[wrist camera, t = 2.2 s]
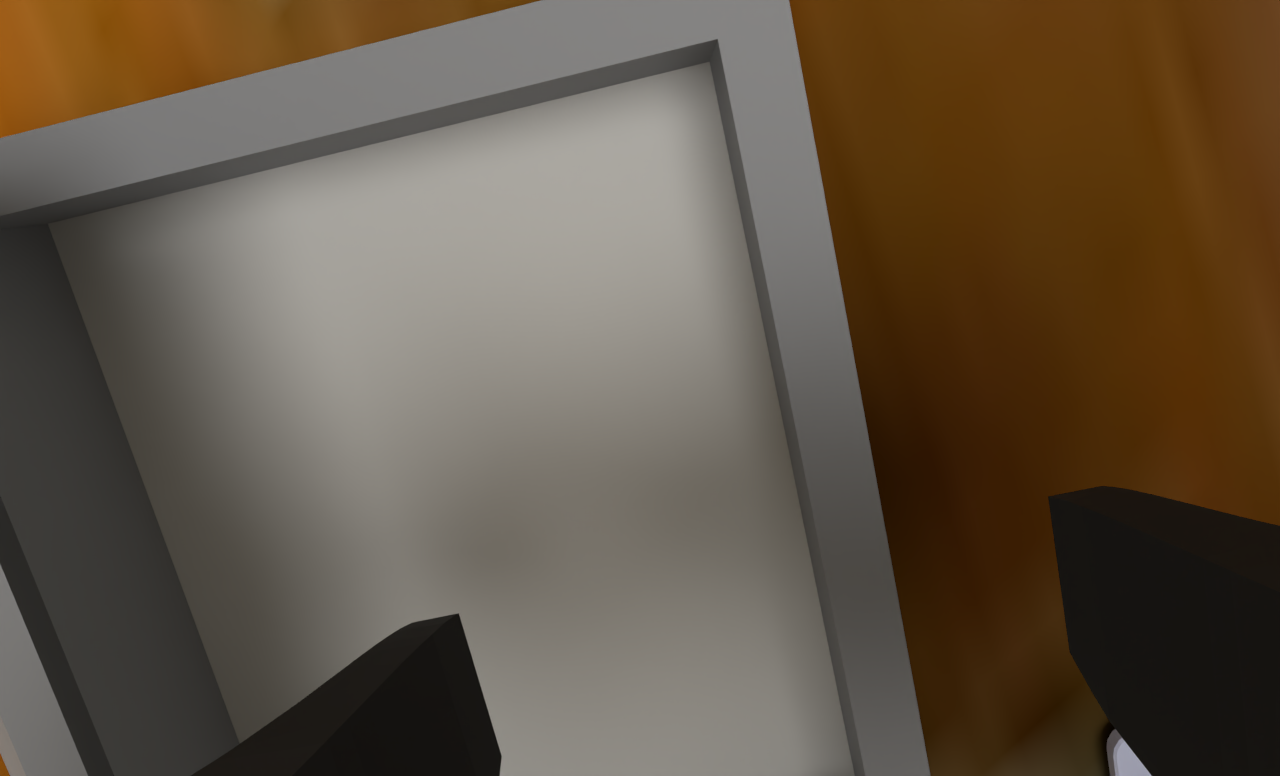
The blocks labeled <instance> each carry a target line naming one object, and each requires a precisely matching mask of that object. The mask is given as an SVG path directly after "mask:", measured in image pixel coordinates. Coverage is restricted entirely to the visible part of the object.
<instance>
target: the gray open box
mask: <svg viewBox="0 0 1280 776" xmlns="http://www.w3.org/2000/svg"><path fill="white" fill-rule="evenodd" d="M0 565H1V567H2V569H3V572H4V574H5V577H6V579H7V582H8V584H9V586H10V589H11V591H12V594H13V596H14V598H15V601H16V603H17V606H18V608H19V610H20V613H21V615H22V618H23V620H24V623H25V625H26V627H27V630H28V632H29V635H30V637H31V639H32V642H33V644H34V647H35V649H36V652H37V654H38V656H39V659H40V661H41V664H42V666H43V668H44V671H45V673H46V676H47V678H48V681H49V683H50V685H51V688H52V690H53V693H54V695H55V697H56V700H57V702H58V705H59V707H60V709H61V712H62V714H63V717H64V719H65V722H66V724H67V726H68V729H69V731H70V734H71V736H72V738H73V741H74V743H75V746H76V748H77V751H78V753H79V755H80V758H81V760H82V763H83V765H84V767H85V770H86V772H87V775H88V776H191V775H192V774H194V773H195V772H197V771H199V770H200V769H202V768H203V767H205V766H207V765H208V764H210V763H211V762H213V761H215V760H216V759H218V758H219V757H221V756H222V755H224V754H225V753H227V752H228V751H230V750H231V749H233V748H234V747H236V746H237V745H239V744H240V743H241V742H243V741H244V740H246V739H247V738H249V737H250V736H251V735H253V734H254V733H256V732H257V731H259V730H260V729H261V728H263V727H264V726H266V725H267V724H269V723H270V722H271V721H273V720H274V719H276V718H277V717H278V716H280V715H281V714H283V713H284V712H286V711H287V710H288V709H290V708H291V707H293V706H294V705H296V704H297V703H298V702H300V701H301V700H302V699H304V698H305V697H306V696H308V695H309V694H310V693H312V692H313V691H314V690H316V689H317V688H318V687H320V686H321V685H322V684H324V683H325V682H326V681H328V680H329V679H330V678H332V677H333V676H334V675H336V674H337V673H338V672H340V671H341V670H342V669H344V668H345V667H346V666H348V665H349V664H350V663H352V662H353V661H354V660H356V659H357V658H358V657H360V656H361V655H362V654H364V653H365V652H366V651H368V650H369V649H370V648H372V647H373V646H375V645H376V644H377V643H379V642H380V641H382V640H383V639H385V638H386V637H388V636H389V635H391V634H392V633H394V632H395V631H397V630H399V629H400V628H402V627H404V626H406V625H408V624H410V623H412V622H417V621H422V620H428V619H433V618H438V617H443V616H448V615H453V614H458V613H459V616H460V619H461V622H462V626H463V629H464V632H465V636H466V639H467V642H468V646H469V649H470V652H471V656H472V659H473V662H474V666H475V669H476V672H477V676H478V679H479V682H480V686H481V689H482V692H483V696H484V699H485V702H486V706H487V709H488V712H489V716H490V719H491V722H492V726H493V729H494V732H495V736H496V739H497V742H498V746H499V749H500V752H501V756H502V759H501V768H500V776H930V771H929V765H928V760H927V754H926V749H925V743H924V738H923V732H922V727H921V721H920V716H919V710H918V705H917V699H916V694H915V688H914V683H913V678H912V672H911V667H910V661H909V656H908V650H907V645H906V639H905V634H904V628H903V623H902V617H901V612H900V606H899V601H898V595H897V590H896V584H895V579H894V573H893V568H892V563H891V557H890V552H889V546H888V541H887V535H886V530H885V524H884V519H883V513H882V508H881V502H880V497H879V491H878V486H877V480H876V475H875V469H874V464H873V458H872V453H871V448H870V442H869V437H868V431H867V426H866V420H865V415H864V409H863V404H862V398H861V393H860V387H859V382H858V376H857V371H856V365H855V360H854V354H853V349H852V343H851V338H850V333H849V327H848V322H847V316H846V311H845V305H844V300H843V294H842V289H841V283H840V278H839V272H838V267H837V261H836V256H835V250H834V245H833V239H832V234H831V228H830V223H829V218H828V212H827V207H826V201H825V196H824V190H823V185H822V179H821V174H820V168H819V163H818V157H817V152H816V146H815V141H814V135H813V130H812V124H811V119H810V113H809V108H808V103H807V97H806V92H805V86H804V81H803V75H802V70H801V64H800V59H799V53H798V48H797V42H796V37H795V31H794V26H793V20H792V15H791V9H790V4H789V0H541V1H537V2H533V3H529V4H525V5H521V6H517V7H514V8H510V9H506V10H502V11H498V12H494V13H490V14H486V15H482V16H478V17H474V18H470V19H466V20H463V21H459V22H455V23H451V24H447V25H443V26H439V27H435V28H431V29H427V30H423V31H419V32H415V33H412V34H408V35H404V36H400V37H396V38H392V39H388V40H384V41H380V42H376V43H372V44H368V45H364V46H361V47H357V48H353V49H349V50H345V51H341V52H337V53H333V54H329V55H325V56H321V57H317V58H313V59H310V60H306V61H302V62H298V63H294V64H290V65H286V66H282V67H278V68H274V69H270V70H266V71H262V72H259V73H255V74H251V75H247V76H243V77H239V78H235V79H231V80H227V81H223V82H219V83H215V84H211V85H208V86H204V87H200V88H196V89H192V90H188V91H184V92H180V93H176V94H172V95H168V96H164V97H161V98H157V99H153V100H149V101H145V102H141V103H137V104H133V105H129V106H125V107H121V108H117V109H113V110H110V111H106V112H102V113H98V114H94V115H90V116H86V117H82V118H78V119H74V120H70V121H66V122H62V123H59V124H55V125H51V126H47V127H43V128H39V129H35V130H31V131H27V132H23V133H19V134H15V135H11V136H8V137H4V138H0Z"/></svg>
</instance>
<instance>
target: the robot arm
mask: <svg viewBox="0 0 1280 776" xmlns="http://www.w3.org/2000/svg"><path fill="white" fill-rule="evenodd" d="M1048 498H1049V505H1050V512H1051V519H1052V527H1053V534H1054V541H1055V548H1056V556H1057V563H1058V570H1059V577H1060V585H1061V592H1062V599H1063V606H1064V613H1065V621H1066V628H1067V635H1068V642H1069V650H1070V653H1071V655H1072V657H1073V659H1074V661H1075V662H1076V664H1077V666H1078V668H1079V669H1080V671H1081V673H1082V675H1083V677H1084V678H1085V680H1086V682H1087V684H1088V686H1089V687H1090V689H1091V691H1092V693H1093V694H1094V696H1095V698H1096V699H1097V701H1098V703H1099V704H1100V706H1101V708H1102V709H1103V711H1104V713H1105V714H1106V716H1107V718H1108V719H1109V721H1110V722H1111V724H1112V725H1113V726H1114V728H1115V730H1113V731H1112V732H1111V734H1110V736H1109V738H1108V739H1107V748H1106V749H1107V756H1108V764H1109V771H1110V776H1280V526H1278V525H1273V524H1269V523H1264V522H1260V521H1256V520H1252V519H1248V518H1243V517H1239V516H1235V515H1231V514H1227V513H1223V512H1219V511H1215V510H1211V509H1207V508H1204V507H1200V506H1196V505H1192V504H1188V503H1184V502H1180V501H1176V500H1172V499H1168V498H1164V497H1160V496H1156V495H1152V494H1147V493H1143V492H1138V491H1133V490H1128V489H1123V488H1116V487H1107V486H1100V487H1095V488H1090V489H1085V490H1080V491H1074V492H1069V493H1064V494H1059V495H1054V496H1049V497H1048ZM501 759H502V756H501V752H500V749H499V746H498V742H497V739H496V736H495V732H494V729H493V726H492V722H491V719H490V716H489V712H488V709H487V706H486V702H485V699H484V696H483V692H482V689H481V686H480V682H479V679H478V676H477V672H476V669H475V666H474V662H473V659H472V656H471V652H470V649H469V646H468V642H467V639H466V636H465V632H464V629H463V626H462V622H461V619H460V616H459V613H458V614H453V615H448V616H443V617H438V618H433V619H428V620H422V621H417V622H412V623H410V624H408V625H406V626H404V627H402V628H400V629H399V630H397V631H395V632H394V633H392V634H391V635H389V636H388V637H386V638H385V639H383V640H382V641H380V642H379V643H377V644H376V645H375V646H373V647H372V648H370V649H369V650H368V651H366V652H365V653H364V654H362V655H361V656H360V657H358V658H357V659H356V660H354V661H353V662H352V663H350V664H349V665H348V666H346V667H345V668H344V669H342V670H341V671H340V672H338V673H337V674H336V675H334V676H333V677H332V678H330V679H329V680H328V681H326V682H325V683H324V684H322V685H321V686H320V687H318V688H317V689H316V690H314V691H313V692H312V693H310V694H309V695H308V696H306V697H305V698H304V699H302V700H301V701H300V702H298V703H297V704H296V705H294V706H293V707H291V708H290V709H288V710H287V711H286V712H284V713H283V714H281V715H280V716H278V717H277V718H276V719H274V720H273V721H271V722H270V723H269V724H267V725H266V726H264V727H263V728H261V729H260V730H259V731H257V732H256V733H254V734H253V735H251V736H250V737H249V738H247V739H246V740H244V741H243V742H241V743H240V744H239V745H237V746H236V747H234V748H233V749H231V750H230V751H228V752H227V753H225V754H224V755H222V756H221V757H219V758H218V759H216V760H215V761H213V762H211V763H210V764H208V765H207V766H205V767H203V768H202V769H200V770H199V771H197V772H195V773H194V774H192V775H191V776H500V768H501Z"/></svg>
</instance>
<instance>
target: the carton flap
mask: <svg viewBox="0 0 1280 776" xmlns="http://www.w3.org/2000/svg"><path fill="white" fill-rule="evenodd" d="M0 753H1V756H2V758H3V760H4V762H5V765H6V767H7V769H8V772H9V774H10V776H88V775H87V772H86V770H85V767H84V765H83V763H82V760H81V758H80V755H79V753H78V751H77V748H76V746H75V743H74V741H73V738H72V736H71V734H70V731H69V729H68V726H67V724H66V722H65V719H64V717H63V714H62V712H61V709H60V707H59V705H58V702H57V700H56V697H55V695H54V693H53V690H52V688H51V685H50V683H49V681H48V678H47V676H46V673H45V671H44V668H43V666H42V664H41V661H40V659H39V656H38V654H37V652H36V649H35V647H34V644H33V642H32V639H31V637H30V635H29V632H28V630H27V627H26V625H25V623H24V620H23V618H22V615H21V613H20V610H19V608H18V606H17V603H16V601H15V598H14V596H13V594H12V591H11V589H10V586H9V584H8V582H7V579H6V577H5V574H4V572H3V569H2V567H1V565H0Z"/></svg>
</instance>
